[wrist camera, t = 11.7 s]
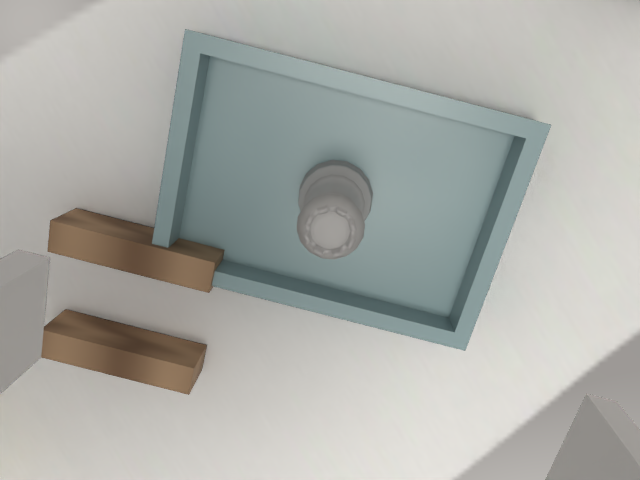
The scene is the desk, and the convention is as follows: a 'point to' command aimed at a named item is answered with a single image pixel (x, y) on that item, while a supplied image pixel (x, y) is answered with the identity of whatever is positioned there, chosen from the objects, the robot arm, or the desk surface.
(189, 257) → the slot rails
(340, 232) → the rook chess piece
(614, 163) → the desk surface
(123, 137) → the desk surface
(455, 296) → the tray
